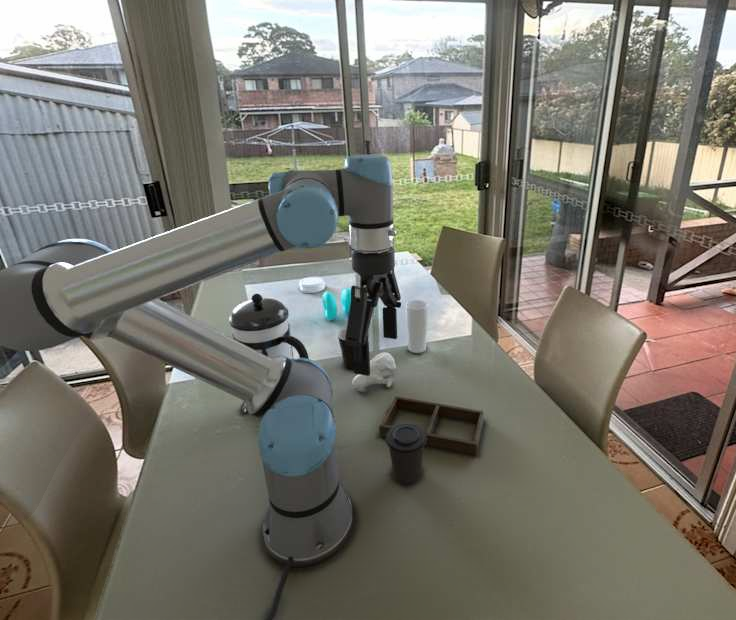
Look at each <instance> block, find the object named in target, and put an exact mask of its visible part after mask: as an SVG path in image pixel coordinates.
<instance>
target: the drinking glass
mask: <svg viewBox="0 0 736 620" xmlns="http://www.w3.org/2000/svg"><path fill="white" fill-rule="evenodd" d="M404 306H405V307H404V308H405V309H404V310H405V311H404V317H405V325H406V326H405V327H406V334H407V347H408V350H409V352H411V353H413V354H422V353H424V352H425V351H426V349H427V336H428V324H429V304H428V302H426V301H424V300H420V299H413V300H409V301H408V302H406V303H405V305H404Z"/></svg>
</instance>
